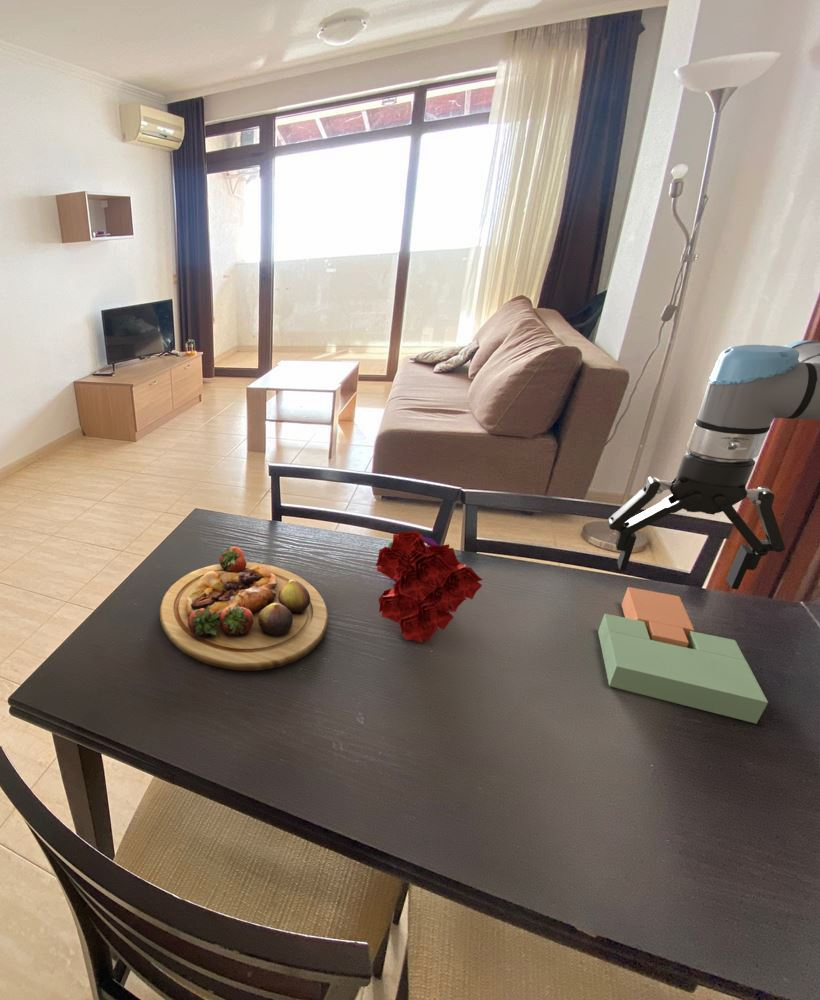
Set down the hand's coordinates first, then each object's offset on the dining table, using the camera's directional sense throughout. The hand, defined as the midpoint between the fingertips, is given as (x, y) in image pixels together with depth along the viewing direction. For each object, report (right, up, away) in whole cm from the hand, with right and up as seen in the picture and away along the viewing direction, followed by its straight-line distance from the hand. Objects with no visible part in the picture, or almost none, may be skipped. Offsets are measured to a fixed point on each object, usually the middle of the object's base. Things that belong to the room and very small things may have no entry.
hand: (674, 575), depth 88 cm
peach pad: (0, -10, +3) cm, 11 cm away
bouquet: (-35, -6, +18) cm, 40 cm away
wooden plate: (-69, -10, +16) cm, 71 cm away
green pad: (-6, -14, -5) cm, 16 cm away
